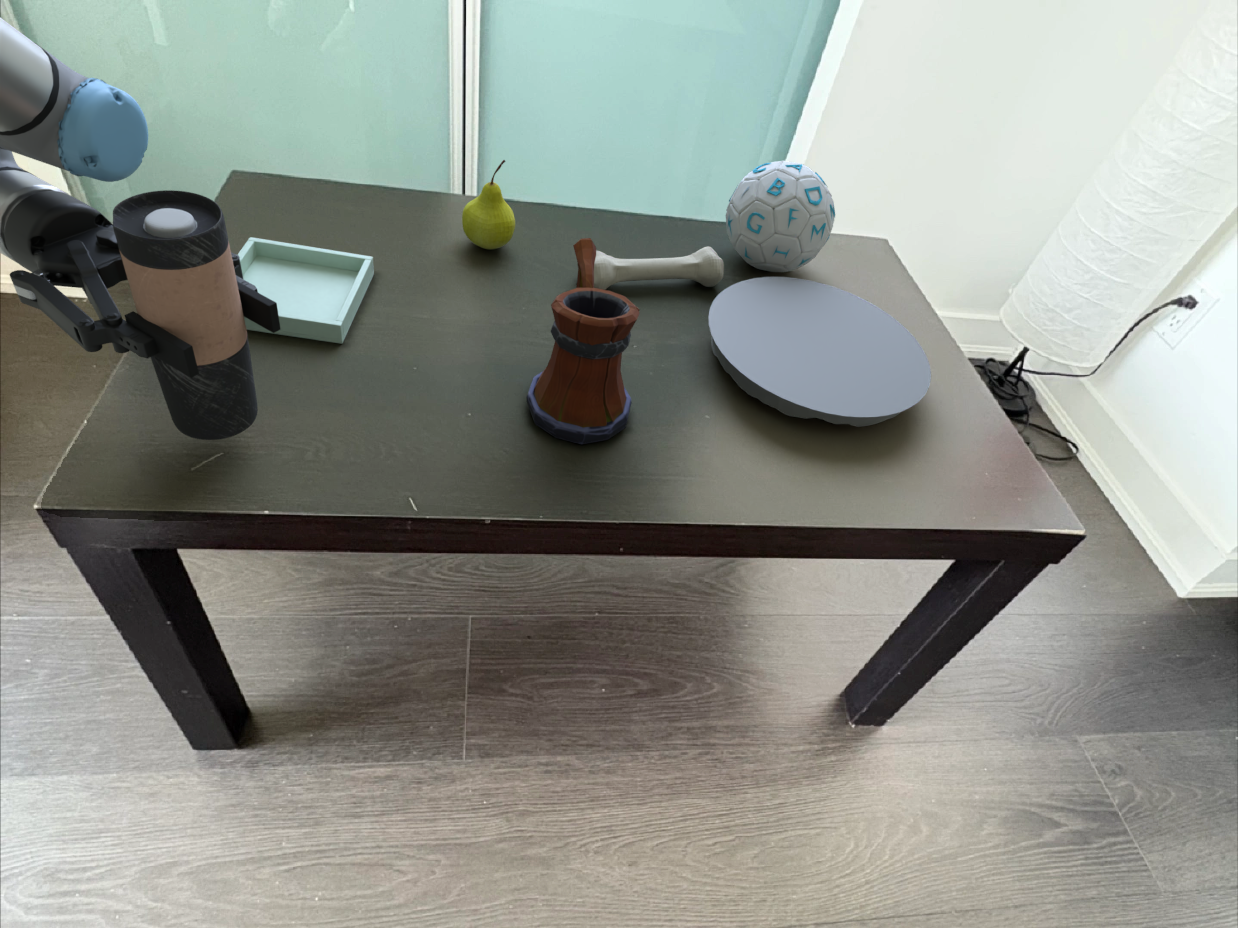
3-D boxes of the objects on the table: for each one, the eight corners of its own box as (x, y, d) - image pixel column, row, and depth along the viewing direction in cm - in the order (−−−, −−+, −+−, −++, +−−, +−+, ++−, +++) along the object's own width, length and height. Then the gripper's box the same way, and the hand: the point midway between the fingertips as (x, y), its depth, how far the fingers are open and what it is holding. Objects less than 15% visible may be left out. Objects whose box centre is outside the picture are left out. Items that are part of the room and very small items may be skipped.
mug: (522, 339, 94) (534, 225, 84) (616, 346, 96) (639, 235, 86) (527, 444, 82) (541, 326, 71) (635, 449, 84) (665, 335, 73)
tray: (342, 343, 88) (340, 325, 86) (206, 323, 86) (201, 304, 84) (374, 274, 98) (373, 256, 96) (253, 254, 97) (249, 236, 95)
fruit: (468, 261, 104) (472, 174, 95) (455, 234, 108) (457, 148, 100) (518, 257, 106) (526, 173, 98) (503, 231, 111) (510, 147, 102)
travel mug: (279, 405, 75) (247, 210, 61) (222, 454, 69) (172, 252, 55) (210, 377, 76) (163, 179, 62) (149, 423, 70) (82, 217, 56)
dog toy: (585, 299, 102) (591, 266, 99) (573, 274, 106) (578, 240, 102) (724, 295, 109) (734, 263, 105) (708, 270, 113) (717, 239, 109)
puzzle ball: (830, 270, 119) (869, 176, 108) (780, 304, 110) (817, 205, 99) (748, 226, 124) (777, 132, 114) (694, 256, 115) (720, 156, 105)
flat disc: (749, 454, 86) (761, 424, 83) (670, 305, 105) (678, 276, 101) (957, 437, 95) (975, 410, 92) (851, 303, 113) (863, 276, 110)
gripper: (158, 229, 79) (332, 324, 73) (-61, 313, 65) (132, 438, 59) (140, 156, 74) (325, 252, 68) (-102, 231, 60) (104, 359, 54)
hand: (234, 339), depth 64 cm, fingers closed on travel mug, 7 cm apart
